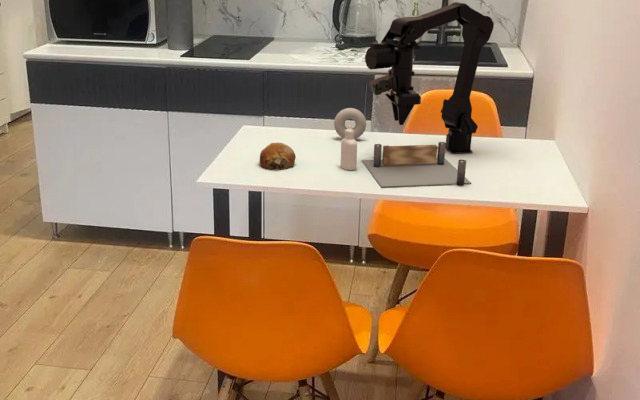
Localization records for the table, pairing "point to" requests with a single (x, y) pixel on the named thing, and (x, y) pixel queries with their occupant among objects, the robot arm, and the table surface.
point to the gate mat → (413, 174)
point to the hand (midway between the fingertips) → (398, 122)
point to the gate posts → (439, 161)
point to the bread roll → (277, 156)
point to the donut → (350, 114)
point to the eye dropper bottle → (349, 150)
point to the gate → (409, 154)
